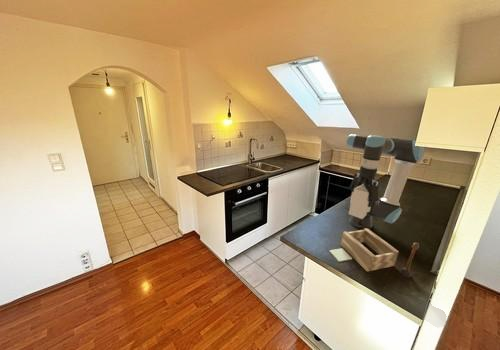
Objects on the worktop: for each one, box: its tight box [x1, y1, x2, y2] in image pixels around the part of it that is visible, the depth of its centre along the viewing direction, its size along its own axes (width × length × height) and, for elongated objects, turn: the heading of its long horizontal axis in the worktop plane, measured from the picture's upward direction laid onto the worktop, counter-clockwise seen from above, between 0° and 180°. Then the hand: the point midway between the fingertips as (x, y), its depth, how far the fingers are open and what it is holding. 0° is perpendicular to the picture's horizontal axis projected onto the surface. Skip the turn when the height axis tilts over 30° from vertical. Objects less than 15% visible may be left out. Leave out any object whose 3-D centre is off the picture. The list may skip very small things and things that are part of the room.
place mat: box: [328, 247, 353, 263], centre depth 121 cm, size 9×9×1 cm
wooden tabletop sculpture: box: [399, 242, 420, 279], centre depth 106 cm, size 6×5×20 cm
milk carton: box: [348, 183, 370, 219], centre depth 109 cm, size 7×7×19 cm
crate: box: [340, 228, 400, 272], centre depth 120 cm, size 18×22×10 cm
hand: (359, 206), depth 110 cm, fingers closed on milk carton, 10 cm apart
